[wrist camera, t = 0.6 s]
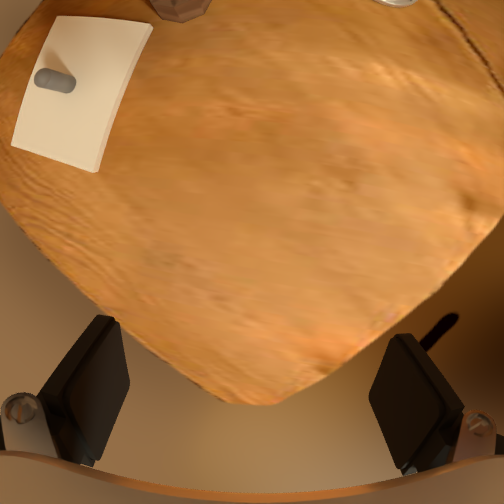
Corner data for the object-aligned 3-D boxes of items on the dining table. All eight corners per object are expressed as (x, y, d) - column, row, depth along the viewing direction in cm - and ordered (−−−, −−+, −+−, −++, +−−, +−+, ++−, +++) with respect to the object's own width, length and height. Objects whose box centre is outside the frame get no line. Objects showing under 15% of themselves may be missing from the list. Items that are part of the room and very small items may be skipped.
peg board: (62, 18, 27) (30, 0, 18) (153, 28, 29) (130, 0, 20) (17, 144, 32) (-22, 148, 24) (98, 171, 34) (62, 179, 26)
